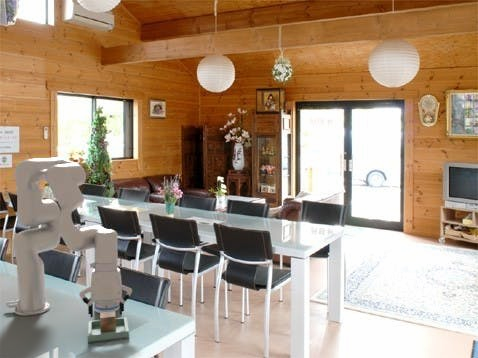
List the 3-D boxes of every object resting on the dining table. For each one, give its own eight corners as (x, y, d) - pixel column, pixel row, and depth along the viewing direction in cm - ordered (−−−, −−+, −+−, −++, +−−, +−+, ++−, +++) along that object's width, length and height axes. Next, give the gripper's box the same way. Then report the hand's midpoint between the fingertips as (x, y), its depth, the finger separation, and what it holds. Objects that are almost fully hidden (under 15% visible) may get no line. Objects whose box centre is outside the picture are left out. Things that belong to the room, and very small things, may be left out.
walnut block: (100, 335, 159) (100, 318, 159) (100, 329, 164) (100, 312, 164) (116, 333, 161) (115, 316, 160) (115, 327, 166) (115, 311, 165)
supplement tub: (89, 312, 182) (88, 275, 181) (104, 304, 191) (103, 268, 189) (110, 315, 178) (109, 277, 177) (125, 307, 187) (124, 271, 186)
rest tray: (88, 343, 154) (87, 335, 154) (88, 328, 167) (88, 320, 167) (128, 338, 158) (128, 331, 158) (126, 323, 171) (126, 316, 170)
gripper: (78, 270, 154) (79, 321, 156) (132, 267, 159) (132, 316, 161) (79, 264, 162) (80, 312, 163) (131, 261, 167) (131, 308, 168)
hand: (106, 314), depth 162 cm, fingers open, 9 cm apart
